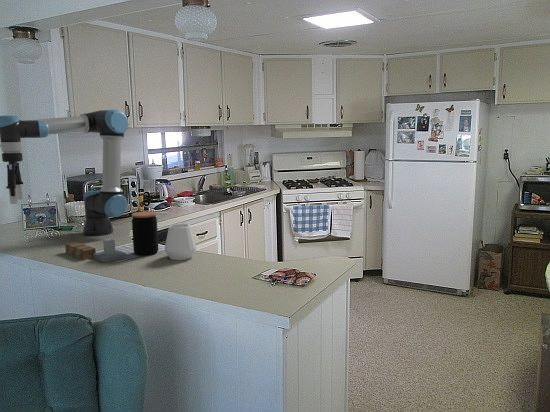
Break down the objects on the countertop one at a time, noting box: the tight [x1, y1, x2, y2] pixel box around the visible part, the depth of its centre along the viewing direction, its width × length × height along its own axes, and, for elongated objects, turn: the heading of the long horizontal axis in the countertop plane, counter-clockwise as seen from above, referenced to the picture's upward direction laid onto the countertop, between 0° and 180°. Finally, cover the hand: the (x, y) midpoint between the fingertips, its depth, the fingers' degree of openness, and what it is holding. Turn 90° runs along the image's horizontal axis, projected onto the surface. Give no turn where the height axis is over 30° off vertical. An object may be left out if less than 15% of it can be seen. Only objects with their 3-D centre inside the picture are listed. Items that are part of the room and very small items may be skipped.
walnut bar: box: [64, 241, 97, 261], centre depth 202 cm, size 18×5×4 cm, turn 48°
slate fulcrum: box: [93, 238, 127, 264], centre depth 196 cm, size 10×10×8 cm
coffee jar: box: [131, 211, 159, 257], centre depth 203 cm, size 11×11×18 cm
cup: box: [164, 223, 197, 261], centre depth 196 cm, size 13×13×14 cm
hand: (16, 201), depth 198 cm, fingers open, 13 cm apart
